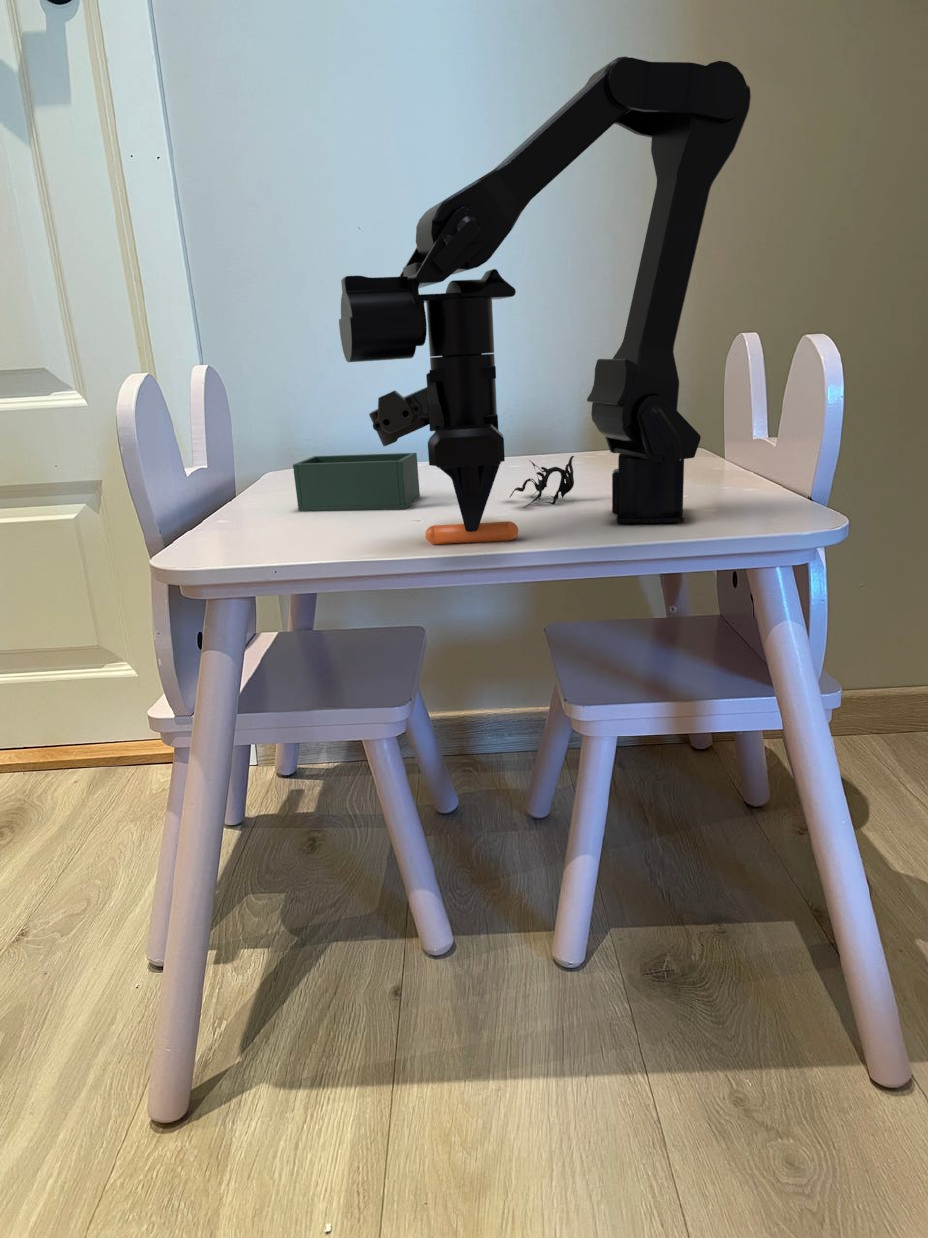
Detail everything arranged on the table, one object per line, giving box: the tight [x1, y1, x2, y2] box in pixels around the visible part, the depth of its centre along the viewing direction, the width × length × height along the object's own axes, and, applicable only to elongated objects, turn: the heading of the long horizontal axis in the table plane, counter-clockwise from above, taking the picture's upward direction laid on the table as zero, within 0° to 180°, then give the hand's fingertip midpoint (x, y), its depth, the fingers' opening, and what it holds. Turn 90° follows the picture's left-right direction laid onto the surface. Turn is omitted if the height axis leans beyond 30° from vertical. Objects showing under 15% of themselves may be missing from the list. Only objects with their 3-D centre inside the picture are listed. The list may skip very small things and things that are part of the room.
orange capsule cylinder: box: [424, 520, 519, 545], centre depth 78 cm, size 9×2×2 cm, turn 89°
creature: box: [508, 455, 575, 509], centre depth 94 cm, size 8×5×8 cm
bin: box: [292, 452, 421, 512], centre depth 99 cm, size 13×7×6 cm, turn 79°
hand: (471, 528), depth 78 cm, fingers closed on orange capsule cylinder, 1 cm apart
